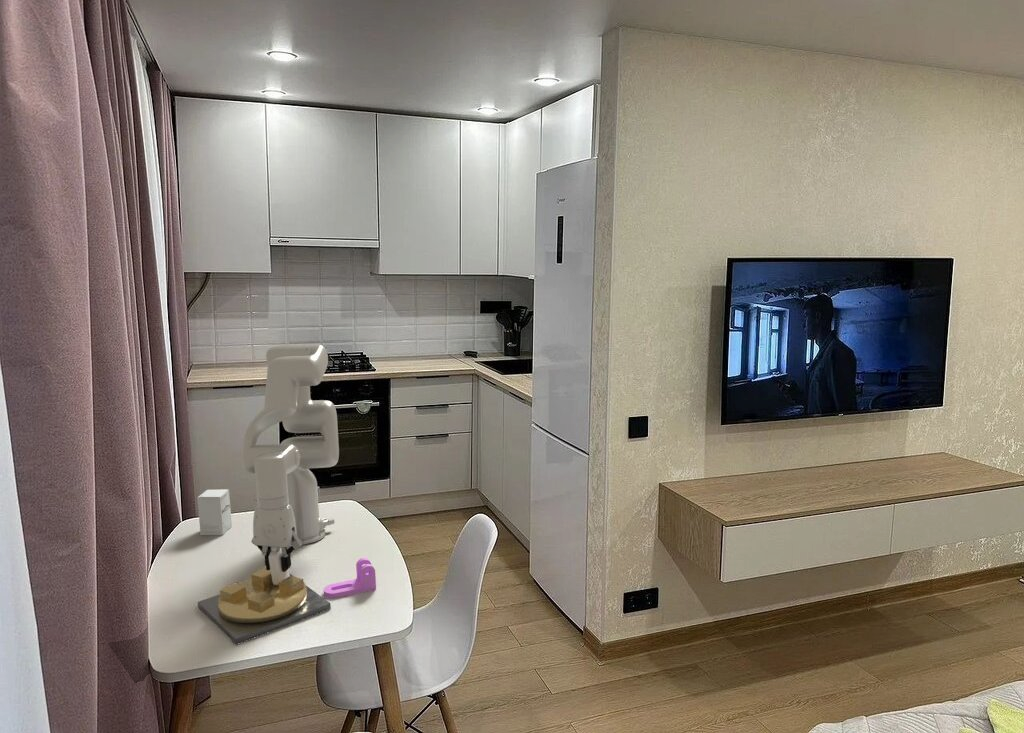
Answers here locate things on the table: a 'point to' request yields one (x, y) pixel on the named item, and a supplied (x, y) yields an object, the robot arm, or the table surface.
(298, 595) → the plate with cheese cubes
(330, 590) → the bracket
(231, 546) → the table surface
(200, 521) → the supplement box
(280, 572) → the eye dropper bottle
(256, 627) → the dark grey square slab
